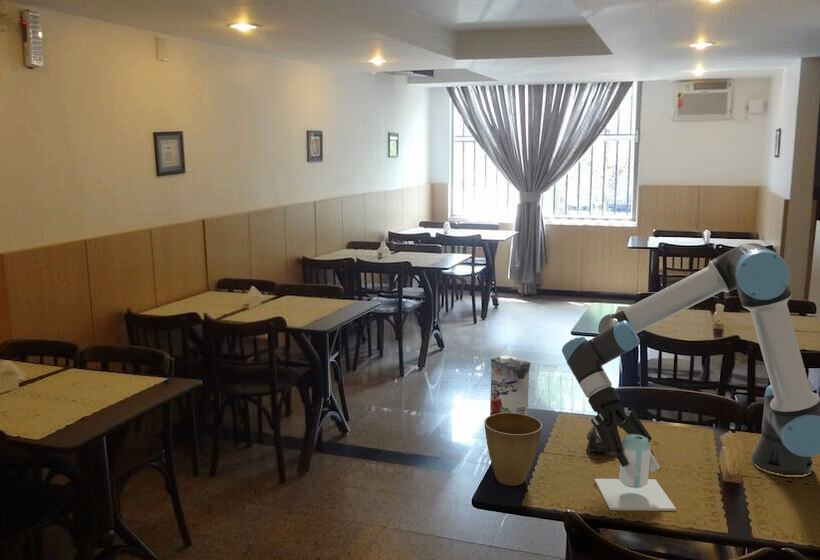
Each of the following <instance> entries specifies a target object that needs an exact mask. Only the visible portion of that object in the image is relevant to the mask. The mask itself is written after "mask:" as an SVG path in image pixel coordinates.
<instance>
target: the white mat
mask: <svg viewBox="0 0 820 560" xmlns="http://www.w3.org/2000/svg"><path fill="white" fill-rule="evenodd" d="M594 482H595V484H596V486H597V488H598V490H599V492H600V493H601V495H602V498H603V500H604V502H605V504H606V506H607V507H608V510H609V511H646V512H647V511H650V512H652V511H654V512H655V511H656V512H657V511H658V512H659V511H663V512H664V511H665V512H667V511H669V512H671V511H672V512H675V511H676V512H677V508H676V506H675V505H674V503H673V502H672V501H671V499H670V498H669V497H668V495H667V493H666V492H665V491H664V490H663V488H662V486H661V485H660V484H659V482H658V481H657V479H656V478H655V479H654V478H648V484H647V485H645V486H643V487H641V488H632V487H628V486H625V485H624V484H623V483H621V482H620V480H619V478H594Z"/></svg>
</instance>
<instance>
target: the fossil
mask: <svg viewBox="0 0 820 560" xmlns="http://www.w3.org/2000/svg"><path fill="white" fill-rule="evenodd" d="M619 437H620V441H621V443H622V441H623V440H622V438H621V436H620V435H619ZM586 439H587V441H588V443H587V452H588V453H591V452H598V453H599V452H606V449H605V447H604V445H603V443H602V440H601V438H600V436H599V434H598V431H597V429H596V427H595V426H594V425H593V426H592V427H591V429H590V430H589V431H588V432H587V434H586ZM610 448H611V447H610Z"/></svg>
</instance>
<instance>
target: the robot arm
mask: <svg viewBox="0 0 820 560" xmlns="http://www.w3.org/2000/svg"><path fill="white" fill-rule="evenodd" d="M790 277H791V273H790V270H789V266H788V264H787V262H786V261H785V259H784V258H783V257H782V255H781V254H779V253H777V252H776V251H774V250H772V249H770V248H768V247H766V246H764V245H762V244H760V243H756V242H755V243H754V242H750V243H749V242H748V243H744V244H741V245H738V246H736V247H733V248H732V249H730V250H728V251H726V252H724V253H722V254H721V255H718V256H716V258H713V259H712V260H710V261H708V265H707V266H706V267H704V268H702V269H700V270H698V271H697V272H695V273H692V274H691V275H689V276H686V277H684V278H683V279H681V280H679V281H677V282H675V283H673V284H670V285H669V286H667V287H664V288H663V289H661V290H659V291H657V292H655V293H653V294H651V295H649V296H648V297H645V298H643V299H641V300H640V301H637V302H636V303H633V304H632V305H630V306H628V307H625V308H624V309H622V310H620V311H618V312H616V313H608V314H606V315H604V316H603V317H602V318H601V319H600V321H599V324H598V328H597V329H598V330H597V331H598V334H597V335H596V336H594V337H593V338H591V339H586V337H584V336H576V337H575V338H573V339H570V340H569V341H567V342H566V343H564V345H563V346H562V348H561V352H562V354H563V357H564V359H565V361H566V364H567V366H568V367H569V369H570V370H571V372H572V374H573V376H574V378H575V380H576V381H577V383H578V385H579V387H580V389H581V390H582V392H583V394H584V396H585V398H588V399H587V401H588V403H589V405H590V407H591V409H592V410H593V412H595V413H596V414H597V415H595V416H594V417H593V418H592V419H590V422H591V423H592V425H593V426H595V427H596V429H597V431H598V434H599V436H600V438H601V440H602V443H603V445H604V447H605V449H606V451H605V452H606V453H607V455H609V456H612V458H615V457H616V458H617V460H618V462H619V465H620V464H621V465H622V467H624V468H625V470H626V472H627V474H628V475H629V477H630V479H631V480H632V479H634V478H636V477H637V476H639V475H640V474H639V473H638V471H637V469H636V467H635V465H634V464H633V462H632V460H631V458H630V457H629V455H628V453H627V452H626V451H624V452H622V451H623V448H622V444H621V441H622V440H621V441H620V438H621V436H620V434H619V430H618V428H620V429H623V430H624V431H625V433H627V434H626V435H629V434H637V435H642V436H645V437H646V438H648V442H649V443H651V440H652V436H651V435H650V433H649V432H648V430H647V429H646V428H645V426H644V425H643V423H642V422H641V420H640V419H639V417H638V415H637V414H636V412H635V410H634V407H633V406H628V407H624V406H623V405H622V404H621V403H620V396H619V394H618V392H617V389H616V388H615V387H614V386H612V385H613V383H612V382H611V380H610V378H609V376H608V375H607V373H606V371H605V370H604V368H603V366H604V365H607V364H608V363H610V362H611V361H613V360H615V359H617V358H619V357H621V356H622V355H624V354H626V353H627V352H631V351H632V350H633V349H634V348H636V347H637V346H639V344H640V341H641V340H640V337H639V336H638V333H640V332H642V331H645V330H646V329H649V328H650V327H653V326H654V325H656V324H658V323H659V324H660V323H661V322H663V321H664V320H666V319H669V318H670V317H673V316H675V315H677V314H679V313H681V312H683V311H685V310H687V309H690V308H691V307H693V306H695V305H696V304H700V303H701V302H703V301H706V300H708V299H709V298H711V297H714V296H715V295H717V294H719V293H721V292H724V293H727V294H728V293H730V292H732V291H735V290H737V293H738V296H739V300H740V303H741V306H742V307H743V308H744V309H746V310H748V311H750V315H751V319H752V323H753V326H754V329H755V334H756V337H757V340H758V341H757V342H758V344H759V347H760V351H761V355H762V358H763V361H764V362H763V363H764V365H765V368H766V372H767V376H768V379H769V383H770V384H769V385H767V387H766V389H765V393H764V395H763V396H764V400H763V401H764V403H763V410H762V411H763V415H762V421H761V422H762V423H761V432H760V437H759V439H758V441H757V444H756V446H755V447H754V449H753V451H752V455H751V462H752V461H753V463H754V464H756V465H757V466H759V467H760V468H762V469H765V470H767V471H770V472H774V473H779V474H783V475H804V474H808V473H810V472H811V471H812V472H813V467H814V463H813V459H812V457H816V456H819V455H820V396H819V394H817V393H815V392H814V391H813V390H812V389H811V387H810V383H809V380H808V374H807V372H806V368H805V365H804V361H803V357H802V353H801V349H800V346H799V343H798V340H797V339H798V338H797V335H796V332H795V328H794V325H793V321H792V317H791V313H790V310H789V306H788V302H789V301H790V299H791V298H792V295H793V294H792V292H791V291H792V290H791V287H790V279H791V278H790ZM619 436H620V437H619ZM610 447H611V448H610ZM660 468H661V466H660V465H659V463H658V462H657V460H656V457H655V454H654V453H653V450H652V448H651V449H650V462H649V472H651V473H655V472H656V471H657V470H659V469H660Z"/></svg>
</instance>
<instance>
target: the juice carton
mask: <svg viewBox="0 0 820 560" xmlns="http://www.w3.org/2000/svg"><path fill="white" fill-rule="evenodd" d="M530 369H531V363H530V362H529V361H527V360H522V359H520V358H518V357H515V356H514V355H501V356H499V357H494V358H490V406H489V407H490V408H489V416H491V415H493V414H497V413H519V414H525V415H528V411H529V410H528V409H529V407H528V406H529V387H530V386H529V385H530V384H529V380H530Z"/></svg>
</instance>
